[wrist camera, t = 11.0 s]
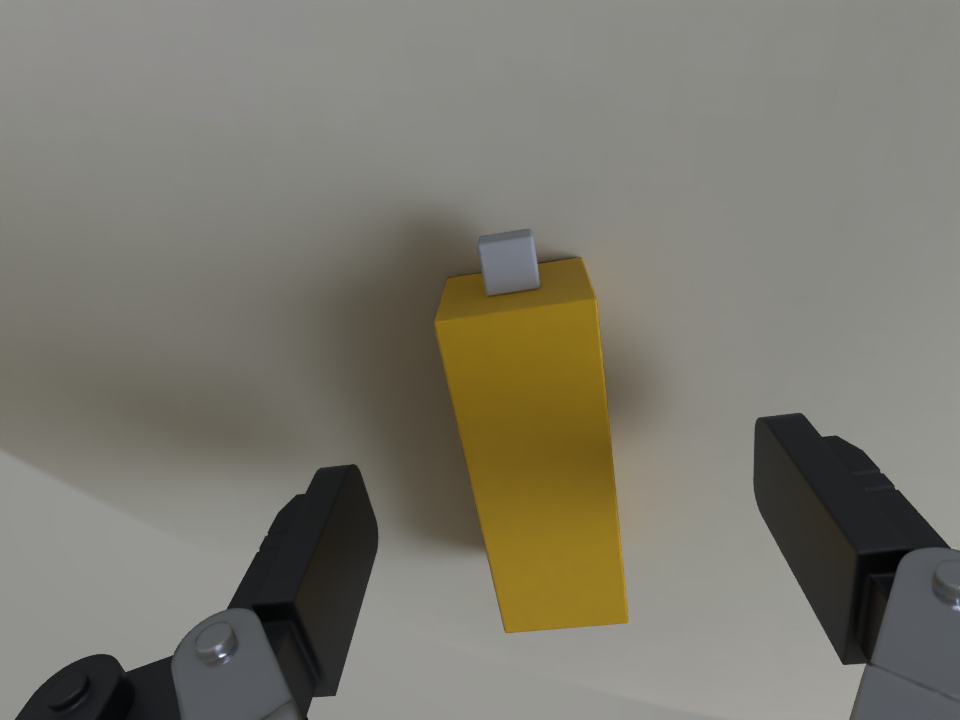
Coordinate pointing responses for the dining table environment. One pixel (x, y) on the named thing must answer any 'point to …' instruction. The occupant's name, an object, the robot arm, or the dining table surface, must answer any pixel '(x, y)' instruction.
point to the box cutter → (535, 433)
